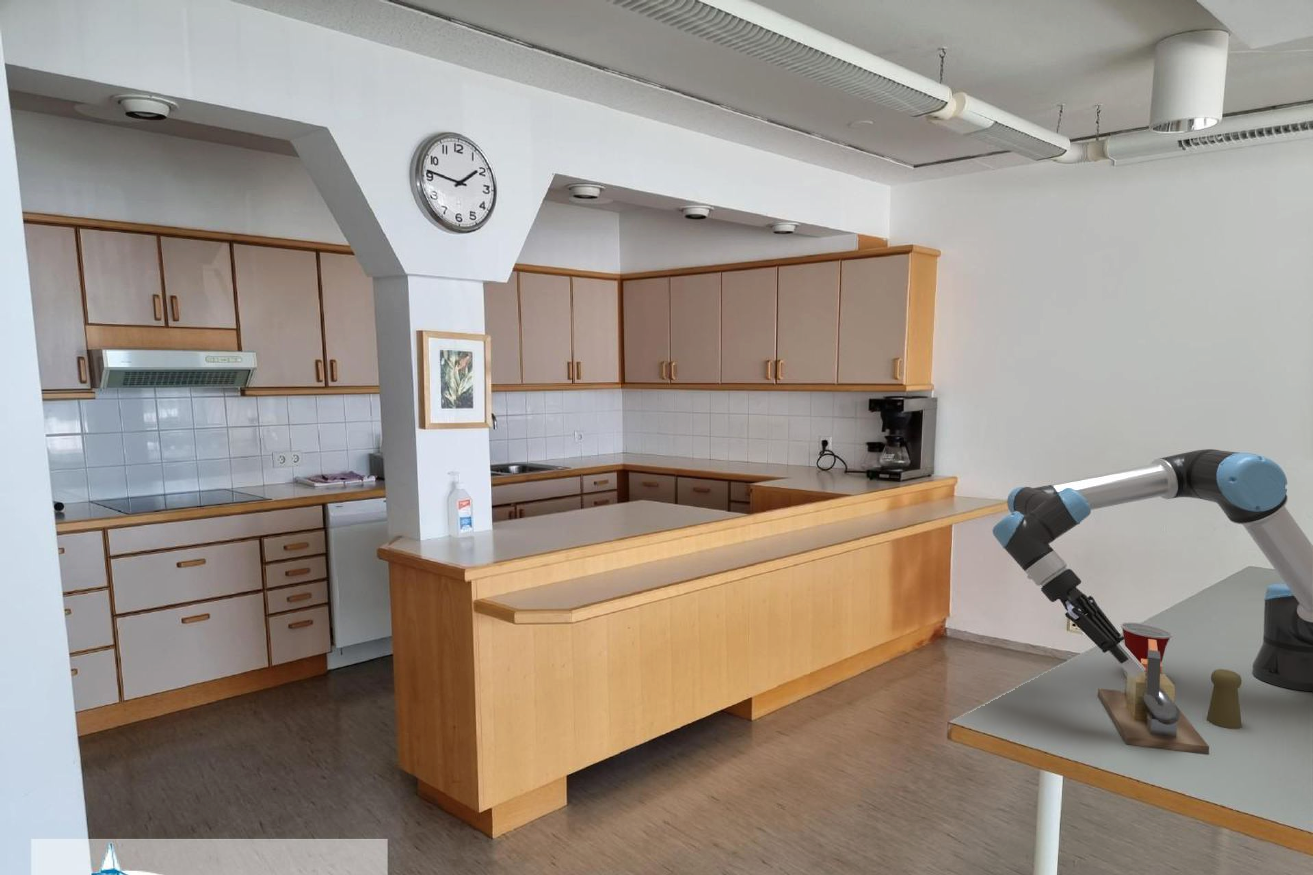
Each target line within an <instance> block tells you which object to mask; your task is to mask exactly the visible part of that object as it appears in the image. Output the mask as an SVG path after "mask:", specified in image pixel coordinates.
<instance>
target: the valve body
mask: <svg viewBox="0 0 1313 875" xmlns="http://www.w3.org/2000/svg"><path fill="white" fill-rule="evenodd" d="M1123 673H1124V675H1125V677H1126V680H1125V683H1124V691H1125V696H1126V708H1127V709H1128V711H1129V712H1130V714H1131V715H1132V717H1133V718H1134V720H1141V721H1147V730H1148V731H1149V733H1150V734H1151V735H1157V736H1166V737H1175V738H1176V736H1177V721H1178V720H1179V718H1180V712H1179V710H1180V708H1179V707H1178V706H1177V704H1174V703H1175V693H1176V692H1175V690H1176V685H1175V684H1174V683H1173V682H1172V681H1171V679H1170V678H1169V677H1168V676H1167V675H1166V674H1165V673H1161V674H1160V687H1159V696H1153V695H1147V688H1146V682H1147V676H1145V672H1143V673H1141V674H1140V675H1138V676H1136V677H1135V678H1132V677H1131V676H1130V675H1129V674H1128V673H1127V672H1126V671H1125V669H1124V668H1123ZM1176 706H1177V707H1178V708H1179V709H1178V708H1177V707H1176Z"/></svg>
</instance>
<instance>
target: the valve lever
mask: <svg viewBox="0 0 1313 875" xmlns="http://www.w3.org/2000/svg"><path fill="white" fill-rule="evenodd" d="M1141 664H1142V665H1143V666H1144V668H1145V669H1146V670H1145V671H1144V672H1145V676H1147V682H1146V688H1147V695H1153V696H1159V687H1160V674H1162V669H1163V668H1162V666H1163V665H1162V663H1161V657H1160V651H1158V649H1157V641H1156V640H1153V639H1148V659H1141Z"/></svg>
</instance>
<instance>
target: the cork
mask: <svg viewBox="0 0 1313 875" xmlns="http://www.w3.org/2000/svg"><path fill="white" fill-rule="evenodd" d="M1210 680H1211V683H1212V684H1213V688H1212V693H1211V698H1210V702H1209V706H1208V711H1207V712H1208V713H1207V716H1206V721H1207V722H1208V721H1209V722H1208V723H1209V724H1211V723H1212V725H1214V726H1217V727H1221V728H1225V729H1231V730H1232V729H1235V730H1236V729H1237V730H1238V729H1241V728H1242V726H1243V723H1242V716H1241V715H1242V714H1241V706H1240V704H1241V703H1240V697H1239V696H1240V695H1239V689H1240V688H1241V685H1242V682H1243V681H1242V678H1241V676H1240V673H1237V672H1236V671H1233V670H1229V669H1223V668H1219V669H1215V670H1214V671H1212V673H1211V676H1210Z"/></svg>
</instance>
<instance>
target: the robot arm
mask: <svg viewBox="0 0 1313 875" xmlns="http://www.w3.org/2000/svg"><path fill="white" fill-rule="evenodd" d="M1287 485H1288V479H1287V476H1286V474H1285V471H1284V470H1283V468H1282V467H1280V465H1279V464H1278V463H1277V462H1275V461H1274V460H1272V459H1270V458H1268V457H1265V456H1262V455H1259V454H1257V453H1256V454H1255V453H1252V452H1251V453H1250V452H1239V451H1238V452H1236V451H1229V450H1219V449H1212V448H1209V449H1208V448H1205V449H1197V450H1191V451H1188V452H1187V451H1186V452H1183V453H1178V454H1174V455H1170V456H1165V457H1159V458H1156V459H1154V460H1153V461H1151V463H1150V464H1148V465H1143V466H1142V465H1141V466H1137V467H1132V468H1127V469H1123V470H1118V471H1113V472H1106V473H1102V474H1097V475H1092V476H1087V477H1083V478H1077V479H1073V480H1069V481H1068V480H1067V481H1064V482H1057V483H1053V484H1049V485H1044V486H1043V485H1042V486H1038V487H1030V486H1019V487H1015V488H1014V489H1013V490H1012V491H1011V492H1009V494H1008V496H1007V500H1006V504H1007V508H1008V510H1009V512H1010V513H1009V514H1008V515H1007V516H1005V517H1003V518H1002V519H1001V520H1000V521H998V522H996V524H995V525H994V526H993V528H992V535H993V536H994V538H995V539H996V540H997V541H998V543H999V544H1000V545H1001V547H1002V548H1003V549H1004V550H1005V551H1006V552H1007V554H1008V555H1010V557H1012V558H1013V560H1014V561H1015V562H1016V563H1017V565H1019V567H1021V569H1022V570H1023V571H1024V572H1025V574H1027V576H1026V577H1027V579H1029V580H1032V581H1033V583H1034V584H1035V585H1036V586H1038V587H1041V588H1040V592H1042V593H1043V595H1044V596H1045V597H1046V598H1047V599H1048V600H1049V601H1050V602H1051V603H1055V602H1056V601H1058V600H1059V601H1060V603H1061V604H1062V606H1063V607H1064V609H1065V610H1066V611H1067V612H1065V613H1064V616H1065V617H1066V618H1067V619H1068V620H1070V621H1071V622H1072V623H1074V624H1075V625H1076V626H1077V627H1078V628H1079V629H1080V630H1081V632H1083V633H1084V634H1085V636H1087V637H1088V638H1089V639H1090V640H1091V641H1092V642H1093V643H1094V644H1095V645H1096V646H1097V647H1098V648H1099V649H1100V650H1101V652H1102V653H1106V652H1109V654H1110V655H1111V656H1112V657H1113V659H1115V660H1116V662H1117V663H1118V664H1119V665H1120V666H1121V667H1122V668H1123V670H1124V669H1125V671H1126V672H1127V673H1128V674H1129V675H1130V676H1131V677H1132V678H1135V677H1136V676H1138V675H1140V674H1141V673H1143V672H1144V671H1145V670H1146V669H1145V668H1144V666H1143V665H1142V664H1141V663H1140V662H1139V661H1138V660H1137V659H1136V657H1135V656H1134V655H1133V654H1132V653H1131V652H1130V651H1129V650H1128V648H1127V647H1126V646H1125V643H1123V642H1122V641H1124V636H1123V635H1121V633H1120V632H1119V631H1118V629H1117V628H1116V627H1115V626H1114V624H1113V623H1112V621H1111V620H1110V619H1109V617H1107V616H1106V613H1104V611H1103V610H1102V609H1101V607H1100V606H1099V605H1098V604H1097V601H1096V600H1095V599H1094V597H1093V596H1092V595H1089V596H1087V595H1086V594H1085V593H1083V592H1082V591H1081V590H1080V589H1079V588H1077V587H1078V586H1080V584H1081V583H1082V580H1081V578H1080V577H1079V576H1078V575H1077V574H1076V573H1075V571H1073V569H1072V568H1067V566H1068V563H1067V562H1066V561H1065V560H1064V559H1063V558H1062V557H1061V556H1060V555H1059V554H1058V553H1057V552H1056V551H1055V550H1054V548H1052V547H1051V545H1050V544H1051V543H1053V542H1054V541H1055V540H1057V539H1058V538H1059V537H1061V536H1063V535H1065V533H1067V532H1069V531H1071V530H1072V529H1073V528H1074V527H1076V526H1078V525H1080V524H1081V523H1082V522H1083V521H1084V520H1085V519H1086V518H1088V517H1089V516H1090V515H1091V511H1093V510H1099V509H1103V508H1109V507H1114V506H1117V505H1122V504H1123V505H1124V504H1128V503H1133V502H1137V501H1143V500H1144V501H1145V500H1148V499H1149V500H1150V499H1153V498H1158V497H1161V499H1165V500H1171V499H1177V498H1178V499H1179V498H1190V499H1199V500H1204V501H1208V502H1213V503H1216V504H1217V505H1218V506H1219V508H1220V509H1221V510H1222V512H1224V514H1225V515H1226V517H1227V518H1228V519H1229V521H1230V522H1231V523H1233V524H1236V525H1237V524H1238V525H1242V526H1243V527H1244V529H1245V530H1246V532H1247V534H1249V535H1250V537H1251V538H1252V540H1253V541H1254V543H1255V544H1256V545H1257V547H1258V548H1259V550H1260V551H1261V552H1262V553H1263V555H1264V556H1265V558H1266V559H1267V561H1268V562H1269V563H1270V565H1271V566H1272V568H1273V569H1274V570H1275V571H1276V573H1277V574H1278V575H1279V577H1280V578H1281V580H1282V581H1283V582H1284V583H1273V584H1270V585H1268V586H1267V587H1266V590H1265V597H1264V599H1263V600H1264V611H1263V616H1264V617H1263V637H1262V638H1263V639H1262V645H1261V647H1260V648H1259V651H1258V653H1257V655H1256V657H1255V659H1254V661H1253V662H1252V663H1253V664H1252V675H1253V676H1254V677H1255V678H1256V679H1259V680H1260V681H1263V682H1265V683H1267V684H1271V685H1274V686H1278V687H1281V688H1287V689H1290V690H1291V689H1292V690H1297V691H1304V692H1313V544H1312V542H1311V541H1310V540H1309V539H1308V537H1307V535H1306V534H1305V533H1304V531H1303V530H1302V528H1301V527H1300V525H1299V524H1298V522H1297V521H1296V520H1295V518H1294V517H1293V515H1292V514H1291V513H1290V512H1289V510H1288V509H1287V507H1286V505H1287V502H1288V499H1289V498H1288V494H1287V492H1288V489H1287V488H1286V486H1287Z"/></svg>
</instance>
